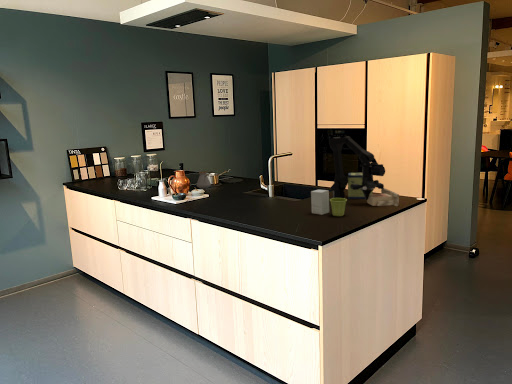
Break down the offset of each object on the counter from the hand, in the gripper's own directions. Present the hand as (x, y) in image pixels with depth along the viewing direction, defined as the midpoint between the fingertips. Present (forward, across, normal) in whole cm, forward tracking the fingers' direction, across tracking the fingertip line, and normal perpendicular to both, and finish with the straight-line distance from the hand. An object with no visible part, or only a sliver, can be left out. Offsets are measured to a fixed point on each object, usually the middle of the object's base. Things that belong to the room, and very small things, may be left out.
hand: (366, 200), depth 252 cm
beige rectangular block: (+2, +8, -1) cm, 8 cm away
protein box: (+2, +3, +20) cm, 20 cm away
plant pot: (+3, -24, -22) cm, 33 cm away
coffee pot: (+5, -97, +89) cm, 132 cm away
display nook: (+2, +9, 0) cm, 9 cm away
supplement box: (+3, -32, -14) cm, 35 cm away
